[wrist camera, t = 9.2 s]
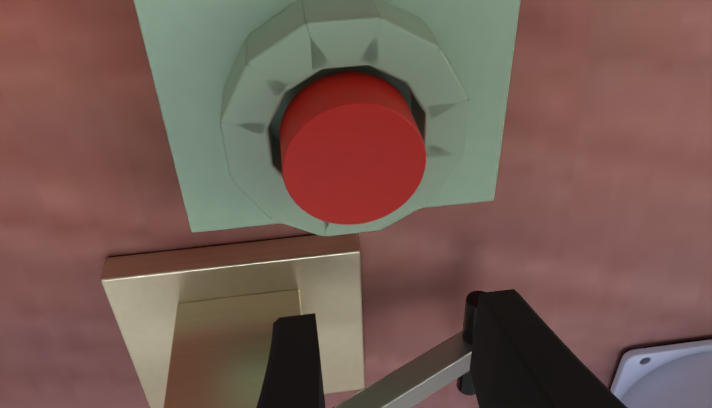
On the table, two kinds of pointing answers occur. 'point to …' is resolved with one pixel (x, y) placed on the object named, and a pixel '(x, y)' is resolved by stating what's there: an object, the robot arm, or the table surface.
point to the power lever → (425, 371)
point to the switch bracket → (235, 315)
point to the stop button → (350, 149)
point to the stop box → (307, 64)
